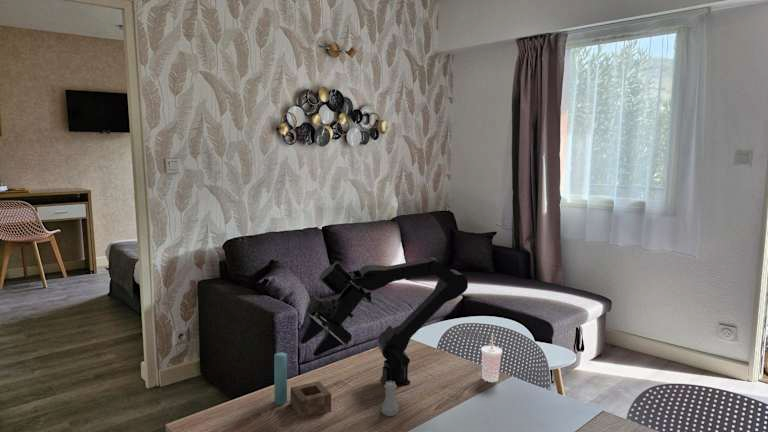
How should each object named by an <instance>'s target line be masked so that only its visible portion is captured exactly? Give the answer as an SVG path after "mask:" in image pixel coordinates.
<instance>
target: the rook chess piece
mask: <svg viewBox="0 0 768 432" xmlns="http://www.w3.org/2000/svg"><path fill="white" fill-rule="evenodd" d="M383 388H384V389H385V391H384V393H385V395H384V397H385V398H384V401H383V402H382V405H381V409H380V412H381V413H382V414H383V416H386V417H395V416H396V415H397V414H398V413H399V405H398V403H397V402H396V393H397V391H396V389H397V388H398V386H396V384H395V382H394V381H393V383H392V382H391V381H390V382H388V381H386V383H385V384H384V385H383Z"/></svg>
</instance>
